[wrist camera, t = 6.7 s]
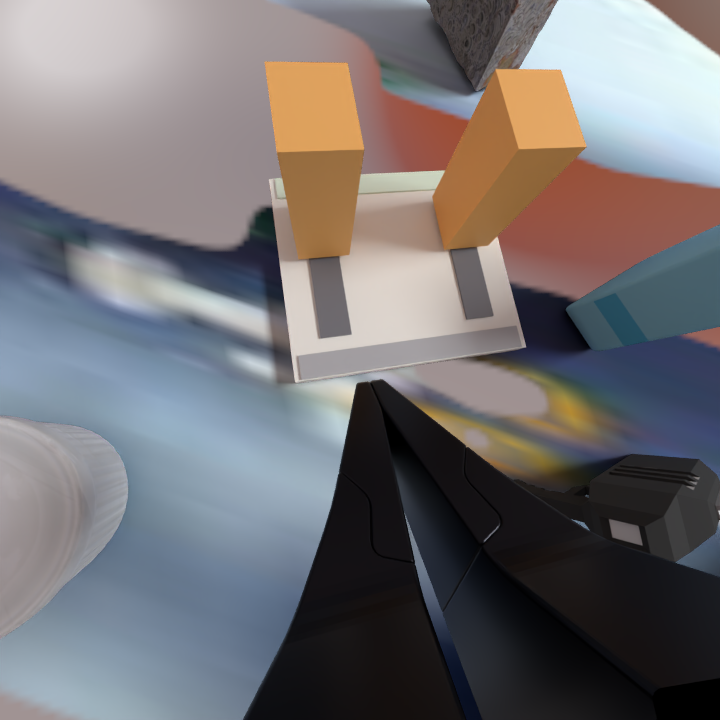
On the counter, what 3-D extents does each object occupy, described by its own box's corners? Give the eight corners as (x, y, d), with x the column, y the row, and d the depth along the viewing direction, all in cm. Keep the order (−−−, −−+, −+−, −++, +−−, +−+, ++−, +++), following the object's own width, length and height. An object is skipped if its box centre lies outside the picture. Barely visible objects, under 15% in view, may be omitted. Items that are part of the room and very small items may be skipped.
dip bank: (516, 350, 24) (527, 346, 22) (296, 383, 21) (294, 382, 20) (472, 180, 26) (480, 168, 25) (271, 190, 23) (268, 177, 22)
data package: (583, 355, 24) (821, 307, 13) (555, 313, 25) (761, 228, 13) (669, 297, 27) (939, 211, 15) (642, 259, 27) (885, 147, 15)
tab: (487, 245, 23) (586, 146, 14) (444, 249, 23) (518, 148, 14) (474, 194, 24) (560, 69, 15) (432, 196, 23) (495, 69, 14)
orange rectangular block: (349, 255, 21) (364, 149, 13) (298, 259, 21) (276, 152, 12) (339, 199, 22) (347, 62, 13) (290, 202, 22) (264, 61, 13)
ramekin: (-88, 532, 17) (-273, 588, 12) (48, 382, 19) (-55, 373, 14) (64, 628, 17) (-52, 725, 12) (182, 466, 19) (129, 489, 14)
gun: (576, 473, 28) (737, 495, 20) (492, 520, 19) (724, 595, 11) (571, 445, 29) (726, 456, 21) (486, 478, 20) (705, 520, 12)
